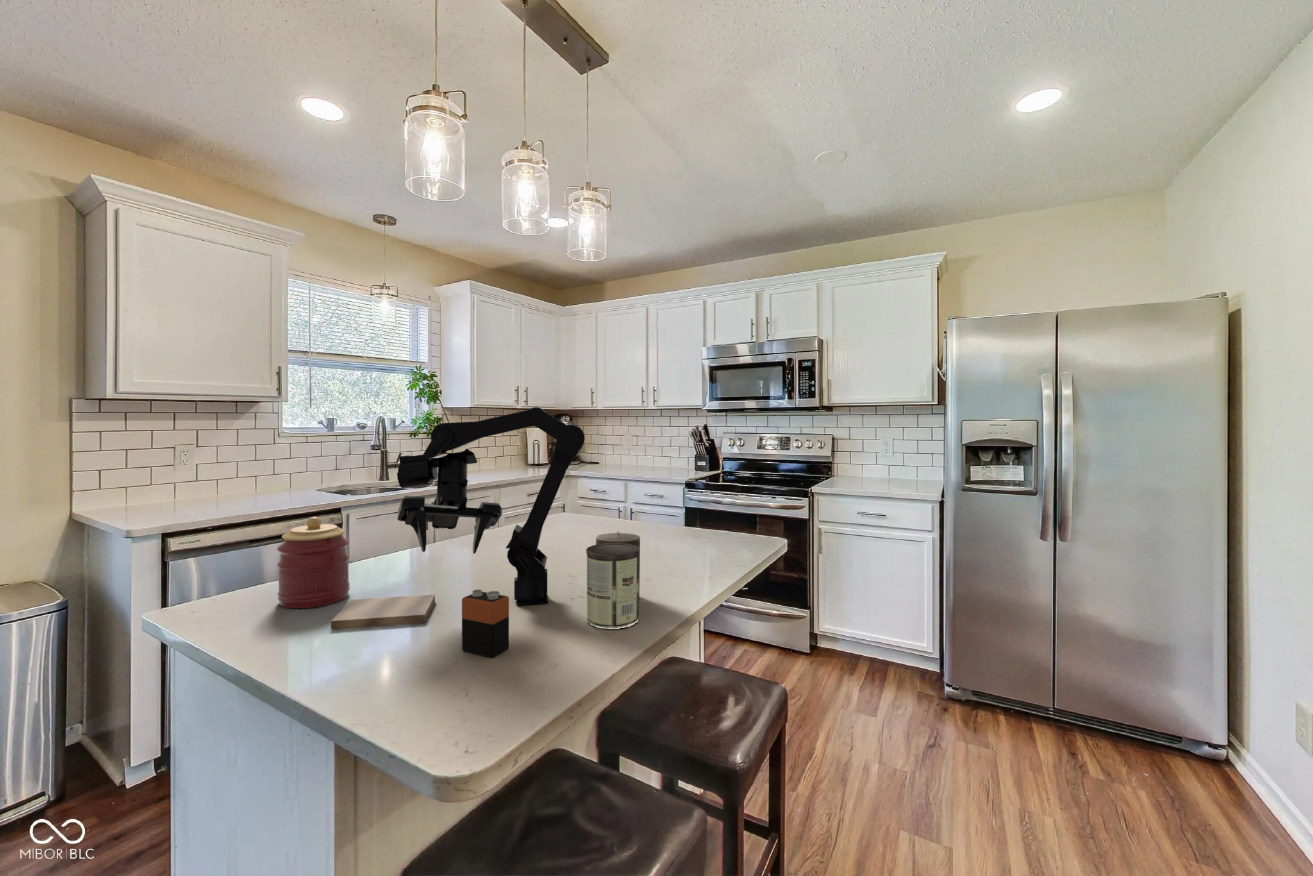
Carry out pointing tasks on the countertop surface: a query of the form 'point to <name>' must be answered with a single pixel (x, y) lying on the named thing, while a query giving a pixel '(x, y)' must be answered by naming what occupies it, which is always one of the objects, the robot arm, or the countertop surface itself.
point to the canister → (313, 566)
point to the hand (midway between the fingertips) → (449, 552)
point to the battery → (485, 623)
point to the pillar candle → (620, 541)
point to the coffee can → (612, 584)
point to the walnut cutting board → (384, 611)
